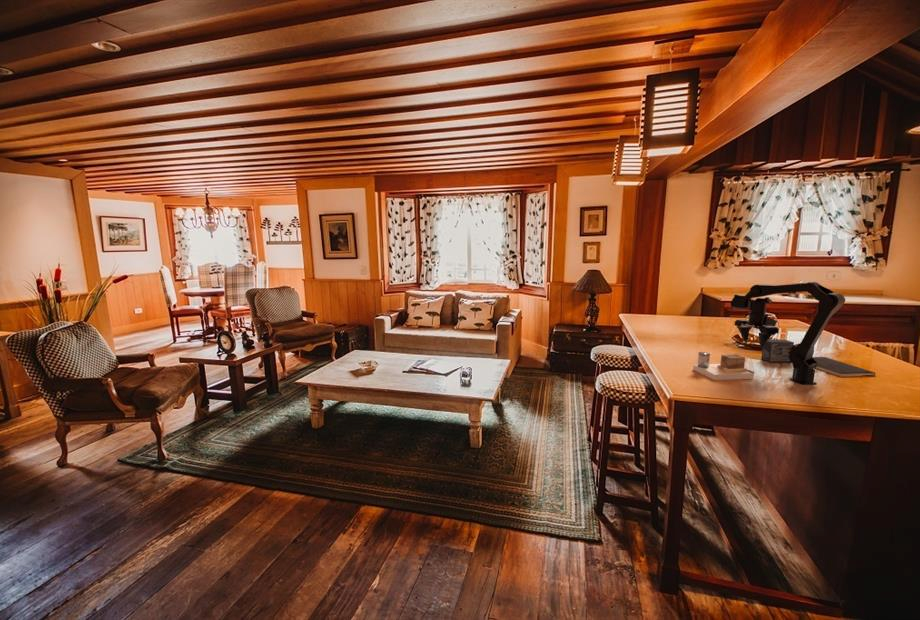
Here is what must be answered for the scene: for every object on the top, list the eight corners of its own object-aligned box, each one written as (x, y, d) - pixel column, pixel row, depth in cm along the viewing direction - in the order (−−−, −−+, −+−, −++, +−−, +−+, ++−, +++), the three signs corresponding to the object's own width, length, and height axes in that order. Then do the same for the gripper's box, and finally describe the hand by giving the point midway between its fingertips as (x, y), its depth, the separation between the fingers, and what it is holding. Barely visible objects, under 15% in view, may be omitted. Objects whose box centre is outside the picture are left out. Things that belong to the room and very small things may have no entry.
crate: (746, 371, 171) (748, 357, 170) (727, 371, 170) (728, 358, 169) (736, 366, 176) (737, 353, 175) (717, 367, 176) (718, 354, 175)
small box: (782, 359, 195) (785, 339, 193) (792, 363, 189) (795, 342, 187) (760, 358, 196) (762, 338, 194) (769, 362, 190) (771, 342, 188)
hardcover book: (839, 378, 169) (840, 373, 169) (793, 362, 192) (794, 357, 191) (874, 377, 169) (875, 372, 169) (825, 361, 192) (825, 356, 192)
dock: (754, 378, 169) (755, 371, 168) (714, 380, 168) (715, 373, 167) (730, 368, 182) (730, 362, 182) (693, 369, 181) (693, 363, 181)
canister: (711, 367, 176) (712, 354, 175) (701, 368, 176) (703, 354, 175) (704, 364, 180) (705, 351, 179) (694, 365, 180) (696, 352, 179)
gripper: (792, 314, 168) (788, 349, 170) (757, 307, 186) (753, 338, 189) (768, 315, 167) (764, 350, 170) (735, 308, 185) (732, 339, 188)
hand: (753, 344), depth 179 cm, fingers open, 9 cm apart
